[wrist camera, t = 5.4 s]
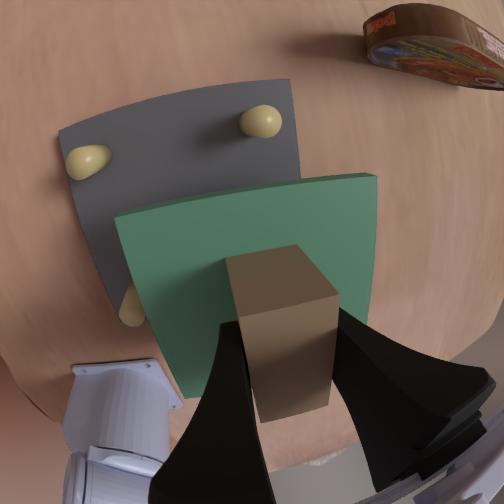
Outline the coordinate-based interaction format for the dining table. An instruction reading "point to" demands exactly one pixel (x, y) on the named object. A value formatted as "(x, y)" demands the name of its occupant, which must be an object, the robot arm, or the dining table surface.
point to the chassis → (173, 162)
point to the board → (236, 227)
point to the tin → (435, 46)
